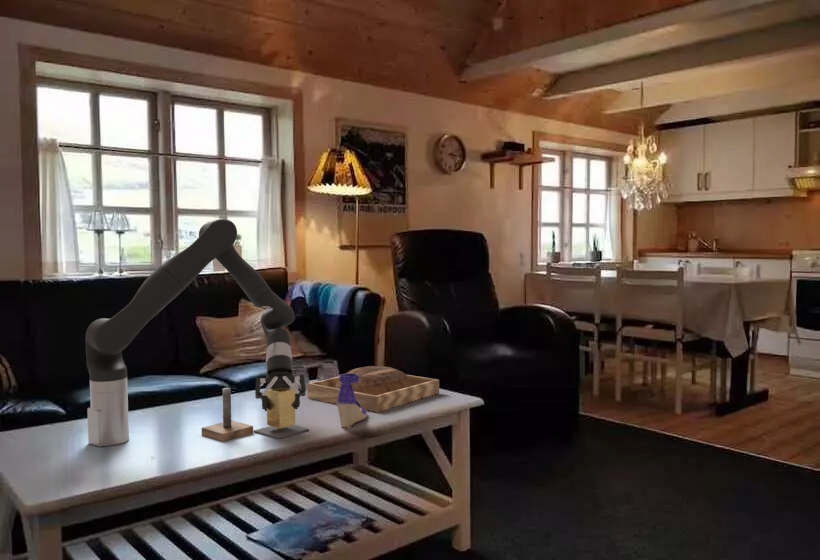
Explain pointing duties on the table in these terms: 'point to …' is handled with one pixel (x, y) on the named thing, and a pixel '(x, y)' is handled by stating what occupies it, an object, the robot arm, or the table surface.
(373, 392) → the bread
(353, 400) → the purple wedge sandal
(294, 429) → the mat
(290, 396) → the sleeve
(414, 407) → the table surface
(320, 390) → the bread tray
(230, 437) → the peg stand
